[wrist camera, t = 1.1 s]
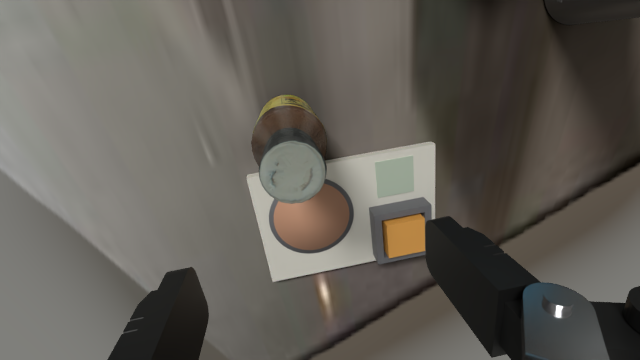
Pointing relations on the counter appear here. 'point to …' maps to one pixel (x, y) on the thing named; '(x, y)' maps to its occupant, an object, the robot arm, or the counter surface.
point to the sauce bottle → (290, 150)
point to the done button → (404, 235)
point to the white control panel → (346, 211)
